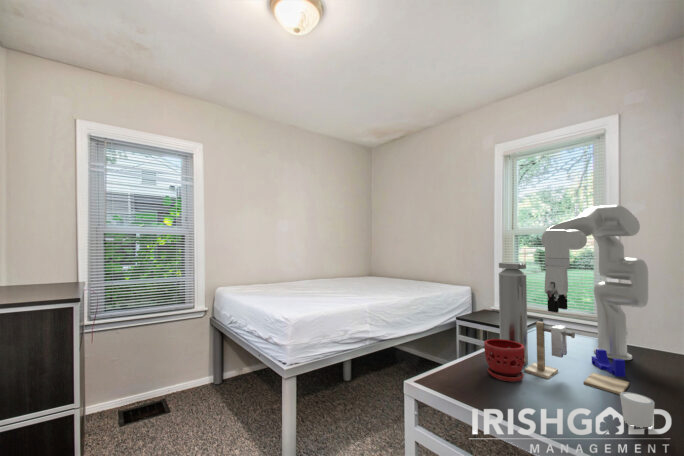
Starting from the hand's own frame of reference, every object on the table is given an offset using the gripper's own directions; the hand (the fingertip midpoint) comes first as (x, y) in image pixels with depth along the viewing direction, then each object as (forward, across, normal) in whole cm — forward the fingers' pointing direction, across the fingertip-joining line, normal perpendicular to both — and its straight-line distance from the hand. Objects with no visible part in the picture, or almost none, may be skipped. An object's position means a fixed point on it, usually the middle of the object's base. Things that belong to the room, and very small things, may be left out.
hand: (557, 310), depth 114 cm
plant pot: (+25, +14, -13) cm, 31 cm away
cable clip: (+24, -23, +10) cm, 35 cm away
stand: (+24, -1, -3) cm, 24 cm away
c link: (+16, -1, 0) cm, 16 cm away
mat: (+24, -7, +12) cm, 28 cm away
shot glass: (+24, +17, +23) cm, 38 cm away
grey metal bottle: (+24, -4, -17) cm, 30 cm away
